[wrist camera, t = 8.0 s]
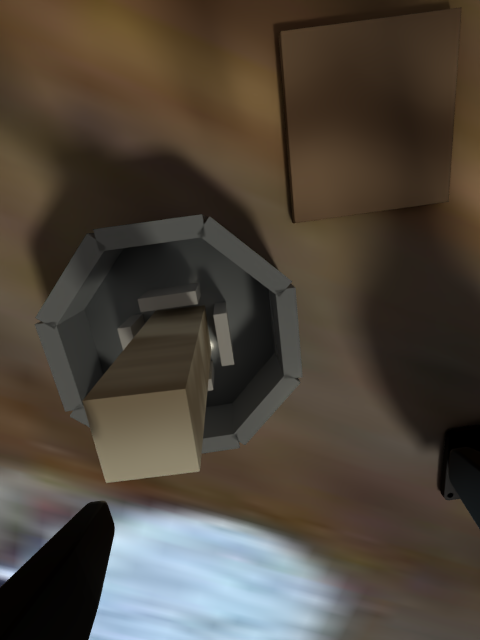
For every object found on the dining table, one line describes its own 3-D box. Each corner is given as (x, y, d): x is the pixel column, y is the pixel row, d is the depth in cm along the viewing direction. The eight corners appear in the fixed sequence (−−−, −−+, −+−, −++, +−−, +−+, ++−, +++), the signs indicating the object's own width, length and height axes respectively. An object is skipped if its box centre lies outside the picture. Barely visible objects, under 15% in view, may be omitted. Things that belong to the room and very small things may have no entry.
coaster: (441, 202, 18) (448, 201, 18) (292, 223, 18) (295, 222, 18) (452, 15, 16) (461, 7, 15) (278, 38, 15) (280, 31, 15)
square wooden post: (211, 350, 19) (199, 471, 10) (164, 356, 19) (106, 482, 10) (205, 305, 18) (185, 388, 9) (155, 310, 18) (82, 400, 9)
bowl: (292, 400, 22) (307, 437, 18) (110, 427, 21) (86, 470, 18) (274, 207, 18) (288, 202, 14) (52, 238, 18) (5, 241, 14)
